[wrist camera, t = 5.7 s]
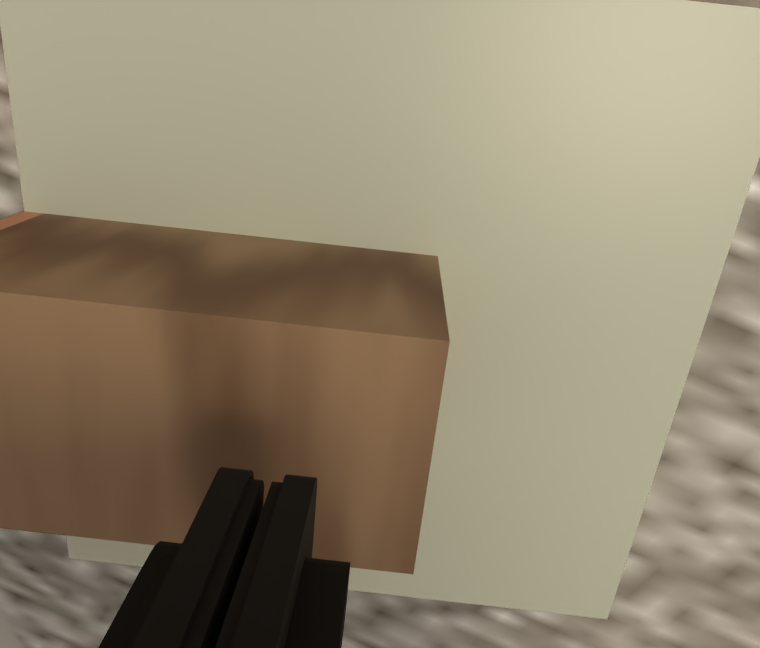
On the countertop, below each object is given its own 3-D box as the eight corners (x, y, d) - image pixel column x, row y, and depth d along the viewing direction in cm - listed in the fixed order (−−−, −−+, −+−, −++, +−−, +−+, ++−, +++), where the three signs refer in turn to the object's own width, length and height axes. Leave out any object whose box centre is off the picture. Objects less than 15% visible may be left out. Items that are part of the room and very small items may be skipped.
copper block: (449, 341, 12) (-157, 274, 12) (413, 574, 14) (-95, 517, 14) (437, 255, 17) (23, 211, 17) (412, 433, 20) (47, 393, 20)
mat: (794, 15, 15) (807, 13, 15) (603, 608, 23) (607, 619, 22) (0, -69, 15) (-13, -73, 15) (76, 548, 23) (69, 558, 22)
